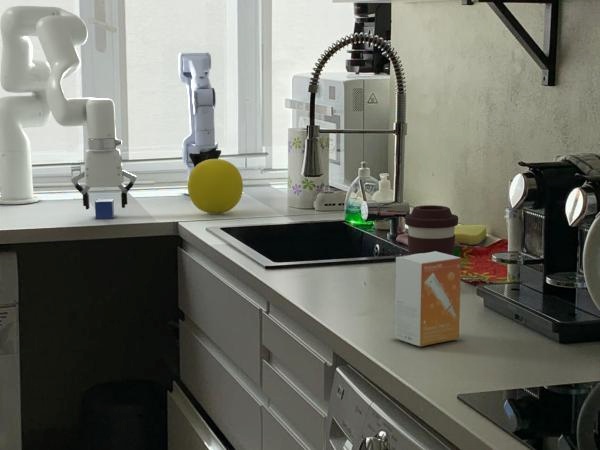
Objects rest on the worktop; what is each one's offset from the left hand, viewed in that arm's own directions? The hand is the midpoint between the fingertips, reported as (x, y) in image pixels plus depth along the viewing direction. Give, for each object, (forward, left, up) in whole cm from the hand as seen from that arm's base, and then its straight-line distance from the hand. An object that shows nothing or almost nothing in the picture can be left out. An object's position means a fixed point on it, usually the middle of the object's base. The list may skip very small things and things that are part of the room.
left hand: (105, 208), depth 283 cm
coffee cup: (+115, +15, -3) cm, 116 cm away
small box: (+143, -10, -3) cm, 143 cm away
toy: (+13, +27, -3) cm, 30 cm away
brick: (-1, 0, -3) cm, 3 cm away
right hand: (-8, +36, +5) cm, 37 cm away
